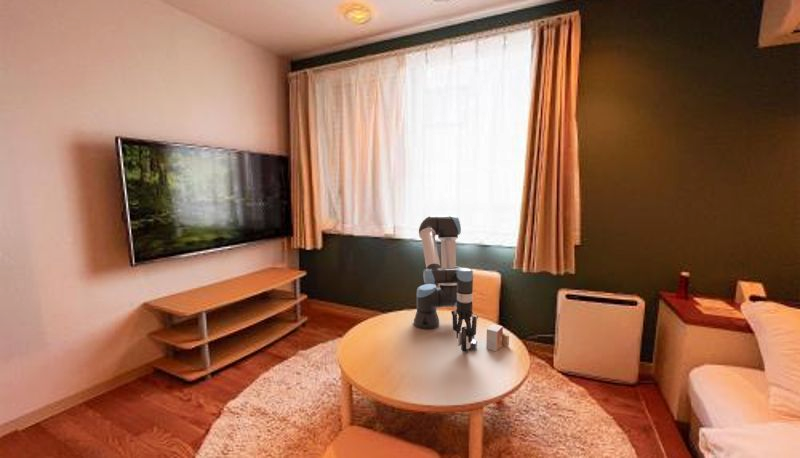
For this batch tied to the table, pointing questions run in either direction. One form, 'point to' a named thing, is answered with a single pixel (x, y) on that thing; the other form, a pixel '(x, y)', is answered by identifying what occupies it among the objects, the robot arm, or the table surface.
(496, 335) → the small box
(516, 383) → the table surface
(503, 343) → the backstop
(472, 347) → the lever
